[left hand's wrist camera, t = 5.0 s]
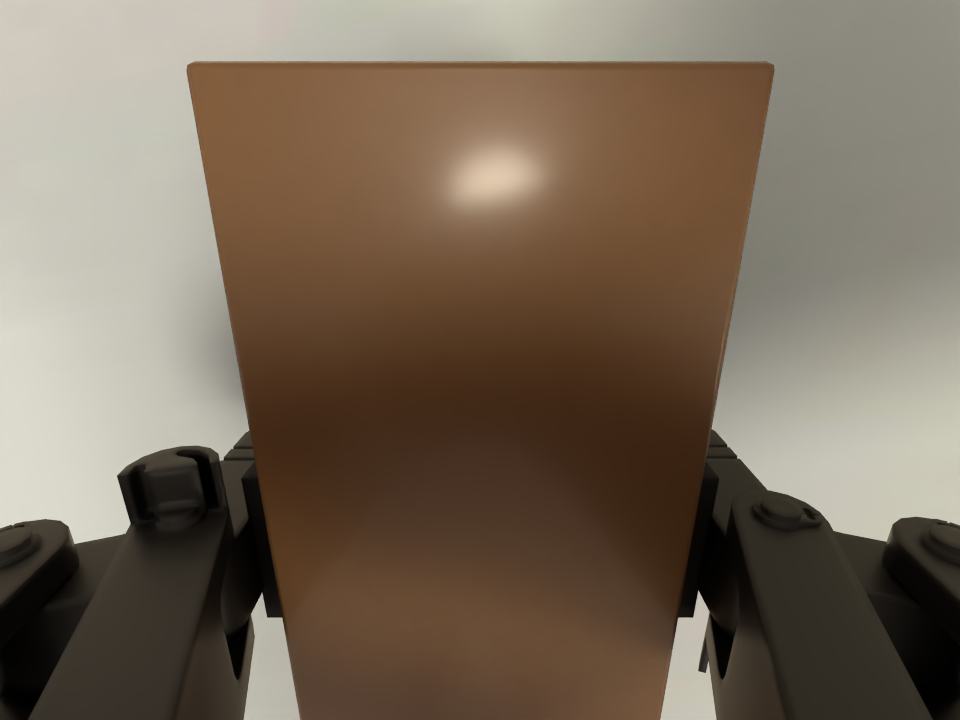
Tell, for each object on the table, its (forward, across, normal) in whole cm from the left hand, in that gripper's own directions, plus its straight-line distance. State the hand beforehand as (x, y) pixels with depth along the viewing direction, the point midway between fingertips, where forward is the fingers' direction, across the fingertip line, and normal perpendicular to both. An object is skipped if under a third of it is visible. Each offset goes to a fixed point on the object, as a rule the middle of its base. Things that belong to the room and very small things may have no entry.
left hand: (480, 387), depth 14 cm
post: (+1, 0, -22) cm, 22 cm away
